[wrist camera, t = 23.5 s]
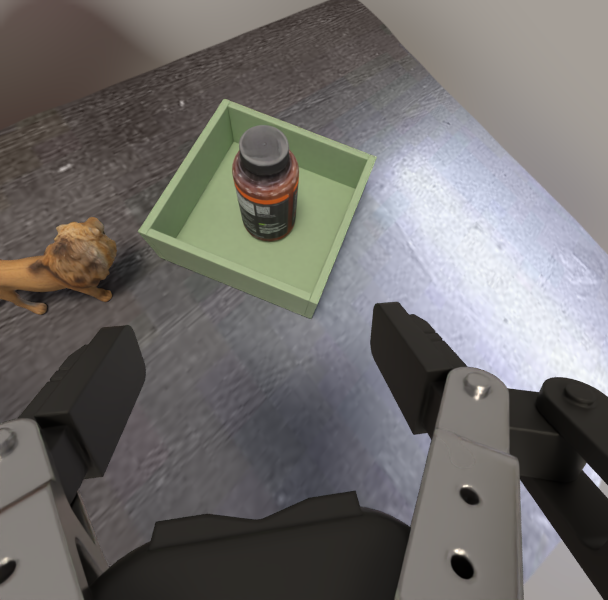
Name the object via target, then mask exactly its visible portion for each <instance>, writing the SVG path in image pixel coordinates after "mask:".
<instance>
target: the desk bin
mask: <svg viewBox="0 0 608 600" xmlns="http://www.w3.org/2000/svg"><path fill="white" fill-rule="evenodd" d="M258 125H268V126H272V127H275V128H277V129H279V130H280V131H281V132H283V133H284V135H285V136H286V138H287V140H288V143H289V149H290V150H291V152H292V153H293V154H294V156H295V157H296V160H297V162H298V166H299V184H298V196H297V208H296V219H295V224H294V227H293V229H292V230H291V232H290V233H289V234H288V235H286V236H285V237H284V238H282V239H280V240H276V241H262V240H259V239H256V238H255V237H253V236H252V235H251V234H250V233H249V232H248V231H247V230H246V228H245V226H244V224H243V221H242V216H241V212H240V207H239V203H238V198H237V193H236V189H235V185H234V179H233V174H232V164H233V160H234V158H235V156H236V154H237V153H238V151H239V141H240V138H241V136H242V135H243V133H244V132H245V131H247V130H248V129H250V128H252V127H254V126H258ZM376 158H377V157H375V156H373V155H369V154H367V153H364V152H362V151H359V150H357V149H354V148H351V147H349V146H346V145H344V144H341V143H338V142H336V141H333V140H331V139H328V138H325V137H323V136H320V135H318V134H315V133H312V132H310V131H307V130H305V129H302V128H299V127H297V126H294V125H291V124H289V123H286V122H284V121H281V120H278V119H276V118H273V117H271V116H268V115H265V114H263V113H260V112H258V111H255V110H252V109H250V108H247V107H245V106H242V105H239V104H237V103H234V102H230V101H229V100H226V99H223V101H222V102H221V104H220V106H219V107H218V109H217V110H216V112H215V113H214V115H213V116H212V118H211V119H210V121H209V123H208V124H207V126H206V127H205V129H204V130H203V132H202V133H201V135H200V137H199V138H198V140H197V141H196V143H195V144H194V146H193V147H192V149H191V150H190V152H189V154H188V155H187V157H186V158H185V160H184V161H183V163H182V164H181V166H180V167H179V169H178V171H177V172H176V174H175V175H174V177H173V178H172V180H171V181H170V183H169V185H168V186H167V188H166V189H165V191H164V192H163V194H162V195H161V197H160V198H159V200H158V202H157V203H156V205H155V206H154V208H153V209H152V211H151V212H150V214H149V215H148V217H147V219H146V220H145V222H144V223H143V225H142V226H141V228H140V229H139V231H138V232H139V233H140V235H141V236H142V237H143V238H144V239H145V240H146V242H147V243H148V244H149V245H150V246H151V248H152V249H153V250H154V251H155V252H156V253H157V255H158V256H159V257H160V258H162V259H165V260H167V261H170V262H172V263H175V264H177V265H180V266H182V267H184V268H187V269H189V270H192V271H194V272H197V273H199V274H202V275H204V276H207V277H209V278H211V279H214V280H216V281H219V282H221V283H224V284H226V285H229V286H231V287H233V288H236V289H238V290H241V291H243V292H246V293H248V294H251V295H253V296H256V297H258V298H260V299H263V300H265V301H268V302H270V303H273V304H275V305H278V306H280V307H283V308H285V309H287V310H290V311H292V312H295V313H297V314H300V315H302V316H305V317H307V318H309V319H311V318H312V316H313V314H314V311H315V309H316V307H317V304H318V302H319V299H320V297H321V294H322V292H323V289H324V287H325V284H326V282H327V280H328V277H329V275H330V272H331V270H332V267H333V265H334V262H335V260H336V257H337V255H338V252H339V250H340V247H341V245H342V242H343V240H344V237H345V235H346V232H347V230H348V227H349V225H350V223H351V220H352V218H353V215H354V213H355V210H356V208H357V205H358V203H359V200H360V198H361V195H362V193H363V190H364V188H365V185H366V183H367V180H368V178H369V175H370V173H371V170H372V168H373V165H374V163H375V161H376Z"/></svg>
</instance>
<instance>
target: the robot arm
mask: <svg viewBox="0 0 608 600" xmlns="http://www.w3.org/2000/svg"><path fill="white" fill-rule="evenodd" d="M370 345H371V352H372V356H373V358H374V360H375V362H376V364H377V366H378V368H379V370H380V372H381V374H382V376H383V377H384V379H385V381H386V383H387V385H388V387H389V389H390V391H391V393H392V395H393V397H394V398H395V400H396V402H397V404H398V406H399V408H400V410H401V412H402V414H403V416H404V418H405V419H406V421H407V423H408V425H409V427H410V429H411V431H412V433H413V435H415V434H422V433H428V435H429V436H430V438H431V443H430V447H429V451H428V456H427V460H426V464H425V468H424V472H423V476H422V480H421V485H420V489H419V493H418V497H417V501H416V505H415V509H414V513H413V517H412V521H411V526H410V527H409V526H408V525H406V524H405V523H404V522H402V521H400V520H398V519H396V518H395V517H393V516H391V515H388V514H386V513H383V512H381V511H378V510H374V509H371V508H367V507H360V505H359V501H358V498H357V494H356V491H350V492H344V493H337V494H331V495H324V496H318V497H312V498H308V499H305V500H303V501H301V502H299V503H296V504H294V505H292V506H290V507H288V508H285V509H283V510H281V511H279V512H276V513H274V514H272V515H270V516H267V517H265V518H263V519H258V520H253V519H245V518H237V517H229V516H221V515H213V514H202V515H196V516H190V517H183V518H177V519H170V520H164V521H158V522H156V523H155V527H154V531H153V535H152V538H151V541H150V542H148V543H146V544H144V545H142V546H140V547H138V548H137V549H135V550H133V551H131V552H130V553H128V554H127V555H125V556H124V557H122V558H121V559H120V560H118V561H117V562H116V563H114V564H113V565H112V566H111V567H109V565H108V563H107V561H106V559H105V557H104V555H103V552H102V550H101V547H100V544H99V542H98V539H97V536H96V534H95V531H94V528H93V526H92V523H91V520H90V518H89V515H88V512H87V510H86V507H85V504H84V502H83V499H82V496H81V495H80V493H79V491H78V489H79V487H80V485H81V483H82V481H83V479H89V478H96V477H103V476H104V473H105V471H106V469H107V466H108V464H109V462H110V460H111V457H112V455H113V453H114V450H115V448H116V446H117V443H118V441H119V439H120V437H121V434H122V432H123V430H124V427H125V425H126V423H127V421H128V418H129V416H130V414H131V411H132V409H133V407H134V405H135V402H136V400H137V398H138V395H139V393H140V391H141V389H142V386H143V384H144V381H145V376H146V369H145V363H144V360H143V357H142V354H141V351H140V348H139V345H138V342H137V339H136V336H135V333H134V331H133V329H132V327H131V326H129V325H125V326H114V327H103V328H101V329H100V330H99V332H98V333H97V334H96V335H95V337H94V338H93V339H92V341H91V342H90V343H89V344H88V345H84V346H82V347H81V348H80V349H78V350H77V351H75V352H74V353H73V354H71V355H70V356H69V357H68V358H67V359H66V360H65V361H64V363H63V364H62V365H61V366H60V367H59V371H56V372H55V374H54V375H53V376H52V377H51V378H50V382H47V383H46V384H45V386H44V387H43V388H42V389H41V391H40V392H39V393H38V394H37V395H36V397H35V398H34V399H33V400H32V402H31V403H30V404H29V405H28V406H27V408H26V409H25V410H24V411H23V412H22V414H21V415H20V416H19V417H18V419H13V420H9V421H6V422H3V423H0V600H524V596H523V595H524V593H523V563H522V533H521V504H520V480H521V482H522V483H523V484H524V486H525V487H526V489H527V490H528V492H529V493H530V495H531V496H532V497H533V499H534V500H535V502H536V503H537V505H538V506H539V507H540V509H541V510H542V512H543V513H544V515H545V516H546V517H547V519H548V520H549V522H550V523H551V525H552V526H553V528H554V529H555V530H556V532H557V533H558V535H559V536H560V538H561V539H562V540H563V542H564V543H565V545H566V546H567V548H568V549H569V550H570V552H571V553H572V555H573V556H574V558H575V559H576V561H577V562H578V563H579V565H580V566H581V568H582V569H583V571H584V572H585V573H586V575H587V576H588V578H589V579H590V580H591V582H592V583H593V585H594V586H595V587H596V589H597V591H598V592H599V593H600V595H601V596H602V598H603V599H604V600H608V498H607V497H606V496H605V495H604V494H603V493H602V492H601V490H600V489H599V488H598V487H597V486H596V485H595V484H594V483H593V481H592V480H591V479H590V478H589V477H588V476H587V475H586V474H585V473H584V471H583V470H582V469H583V468H584V466H585V464H586V463H588V464H589V466H590V467H591V468H592V469H593V470H594V471H595V472H596V473H597V474H598V475H599V476H600V477H601V478H602V479H603V481H604V482H605V483H606V484H607V485H608V397H607V396H606V395H605V394H603V393H602V392H600V391H599V390H597V389H596V388H594V387H592V386H590V385H588V384H585V383H583V382H580V381H577V380H573V379H569V378H562V377H554V378H549V379H547V380H546V381H545V382H544V383H543V385H542V387H541V389H540V392H533V391H525V390H516V389H509V388H507V387H506V386H505V384H504V383H503V382H502V381H501V380H500V379H499V378H497V377H496V376H494V375H493V374H491V373H489V372H486V371H484V370H481V369H478V368H473V367H467V366H466V364H465V363H464V362H463V361H462V360H461V359H460V358H459V357H458V356H457V354H456V353H455V352H454V351H453V350H452V349H451V348H450V347H449V346H448V344H447V343H446V342H445V341H442V338H441V337H440V336H439V334H438V333H435V330H434V329H433V328H432V327H431V326H430V325H429V323H428V322H427V321H425V320H423V319H421V318H420V317H418V316H416V315H414V314H411V315H409V314H408V313H407V312H406V310H405V309H404V308H403V307H402V306H401V304H400V303H399V302H387V303H377V304H375V306H374V309H373V319H372V329H371V340H370Z"/></svg>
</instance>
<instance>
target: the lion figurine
mask: <svg viewBox="0 0 608 600" xmlns="http://www.w3.org/2000/svg"><path fill="white" fill-rule="evenodd" d="M56 229H57V231H58V233H59V234H58V235H57V236H56V238H55V239H54V241H55V242H54V244H50V245H49V246H48V247H47V248H46V251H45V253H44V255H43V256H35V257H28V258H24V259H19V260H0V299H3V300H7V301H10V302H13V303H14V304H15V305H17V306H20V307H23V308H26V309H28V310H30V311H32V312H34V313H36V314H44V313H45V312H46V311H47V305H46V304H44V303H34V302H29V301H26V300H25V299H23V298H21V297H20V296H19V295H18V294H17V293H16V292H15V290H26V291H34V292H49V291H56V290H60V289H64V288H69V289H72V290H75V291H79V292H82V293H85V294H88V295H91V296H93V297H95V298H97V299H99V300H101V301H104V302H107V301H109V300H110V299H111V297H112V294H111V291H109V290H104V289H101V288H97V287H96V286H97V285H98V284H99V281H100V280H104V279H105V278H106V276H107V275H109V274H110V273H109V268H110V267H111V265H112V264H113V261H114V258H115V257H116V252H117V250H116V243H115V241H113V240H111V239H110V238H108V237H107V236H106V235H105V233H104V226H103V224H102V223H101V222H100V221H99V220H98V219H97V218H95V217H90V218H89V219H88V220H87V221H86V222H85V223H77V222H71V223H70V224H66V225H60V226H58V227H57V228H56Z"/></svg>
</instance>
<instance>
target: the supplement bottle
mask: <svg viewBox="0 0 608 600" xmlns="http://www.w3.org/2000/svg"><path fill="white" fill-rule="evenodd" d="M232 174H233V179H234V185H235V189H236V193H237V198H238V203H239V207H240V212H241V216H242V221H243V224H244V226H245V228H246V230H247V231H248V232H249V233H250V234H251V235H252V236H253V237H255V238H256V239H259V240H262V241H276V240H280V239H282V238H284V237H285V236H286V235H288V234H289V233H290V232H291V230H292V229H293V227H294V224H295V219H296V208H297V196H298V184H299V166H298V162H297V160H296V157H295V156H294V154H293V153H292V152H291V150H290V149H289V143H288V140H287V138H286V136H285V135H284V133H283V132H281V131H280V130H279V129H277V128H275V127H272V126H268V125H258V126H254V127H252V128H250V129H248V130H247V131H245V132H244V133H243V135H242V136H241V138H240V141H239V151H238V153H237V154H236V156H235V158H234V160H233V164H232Z"/></svg>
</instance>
